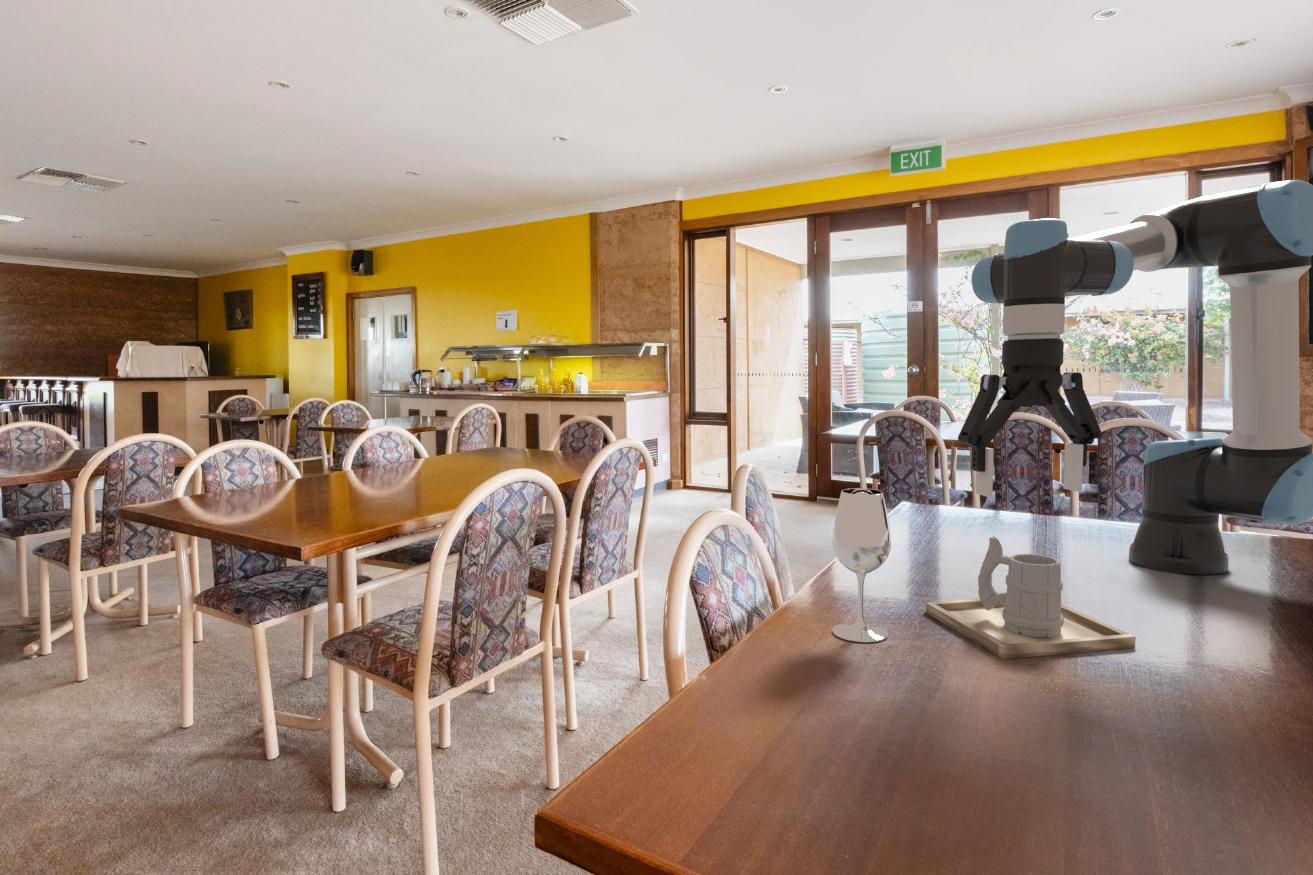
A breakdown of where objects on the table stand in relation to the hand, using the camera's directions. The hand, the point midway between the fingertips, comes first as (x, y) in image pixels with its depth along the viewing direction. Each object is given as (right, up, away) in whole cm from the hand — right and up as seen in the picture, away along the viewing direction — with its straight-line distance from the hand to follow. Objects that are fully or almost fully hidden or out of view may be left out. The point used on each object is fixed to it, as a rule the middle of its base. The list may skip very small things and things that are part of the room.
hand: (1028, 492), depth 107 cm
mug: (-1, -19, +2) cm, 19 cm away
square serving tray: (0, -19, +2) cm, 19 cm away
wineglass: (-23, -20, +1) cm, 30 cm away
